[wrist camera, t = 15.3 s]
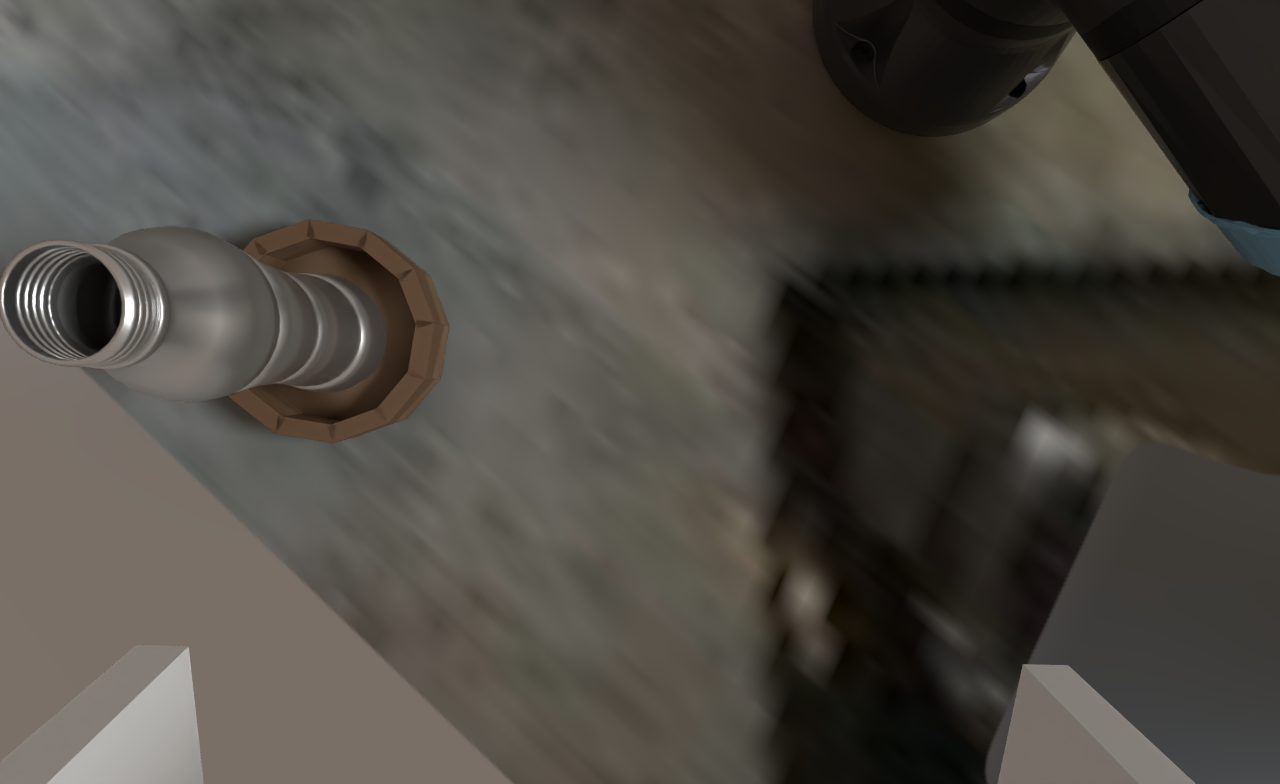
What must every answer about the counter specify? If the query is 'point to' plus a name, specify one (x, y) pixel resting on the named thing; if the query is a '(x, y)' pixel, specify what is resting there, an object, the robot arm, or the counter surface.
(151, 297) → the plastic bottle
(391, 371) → the bowl
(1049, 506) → the counter surface
